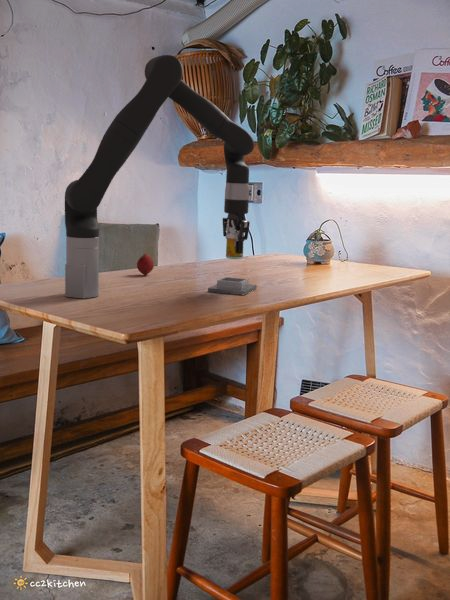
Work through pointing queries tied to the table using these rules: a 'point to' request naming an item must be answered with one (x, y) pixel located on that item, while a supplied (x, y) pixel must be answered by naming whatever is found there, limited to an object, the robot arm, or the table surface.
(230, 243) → the supplement bottle
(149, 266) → the red fruit
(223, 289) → the plate
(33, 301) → the table surface
